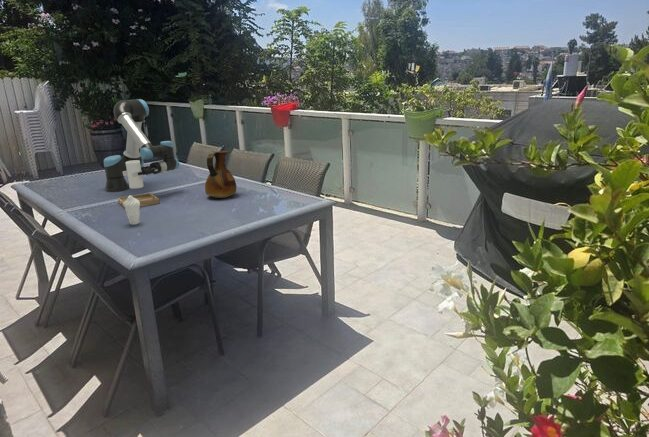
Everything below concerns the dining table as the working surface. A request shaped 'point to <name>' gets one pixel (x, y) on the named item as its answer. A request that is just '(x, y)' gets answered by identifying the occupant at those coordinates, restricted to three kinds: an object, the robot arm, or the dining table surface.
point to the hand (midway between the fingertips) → (127, 174)
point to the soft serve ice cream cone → (132, 209)
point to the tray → (142, 199)
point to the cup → (133, 181)
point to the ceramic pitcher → (219, 177)
